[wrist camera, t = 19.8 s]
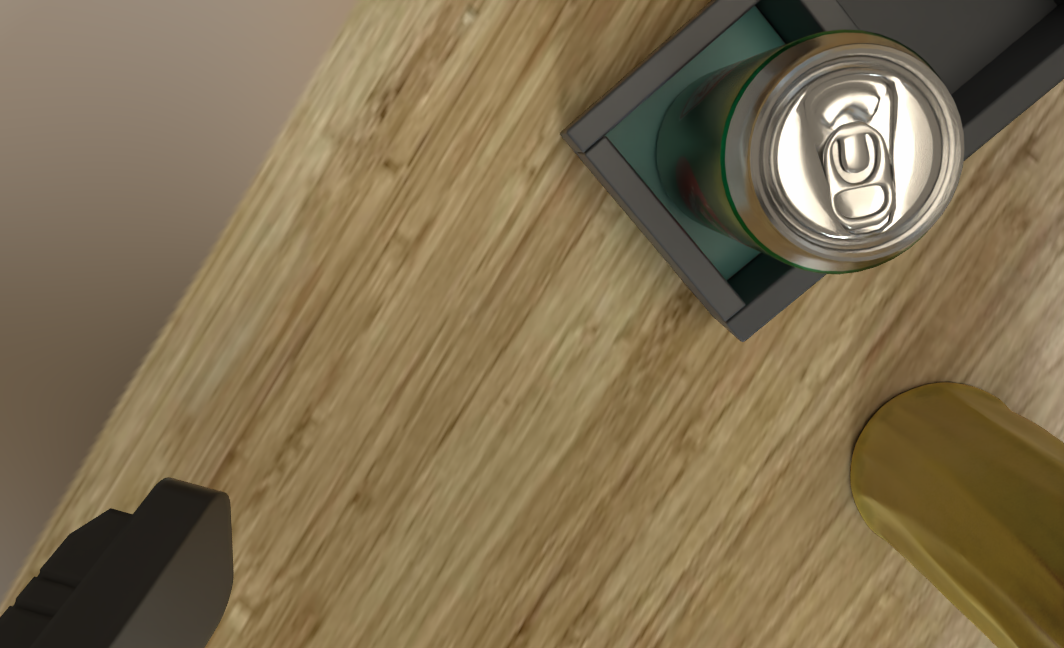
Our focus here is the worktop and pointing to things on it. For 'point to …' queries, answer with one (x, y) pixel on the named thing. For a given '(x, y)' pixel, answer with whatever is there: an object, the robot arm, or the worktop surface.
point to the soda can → (816, 151)
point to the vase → (970, 506)
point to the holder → (766, 23)
